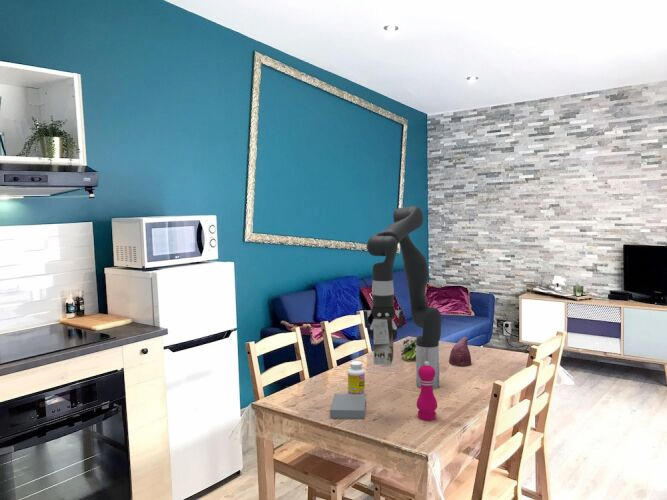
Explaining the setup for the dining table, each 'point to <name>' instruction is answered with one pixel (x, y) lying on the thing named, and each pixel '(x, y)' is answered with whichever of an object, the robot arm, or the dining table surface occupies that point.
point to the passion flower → (409, 349)
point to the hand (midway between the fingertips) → (383, 339)
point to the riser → (348, 406)
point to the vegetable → (460, 354)
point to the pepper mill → (426, 393)
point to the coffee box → (383, 340)
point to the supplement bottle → (356, 378)
